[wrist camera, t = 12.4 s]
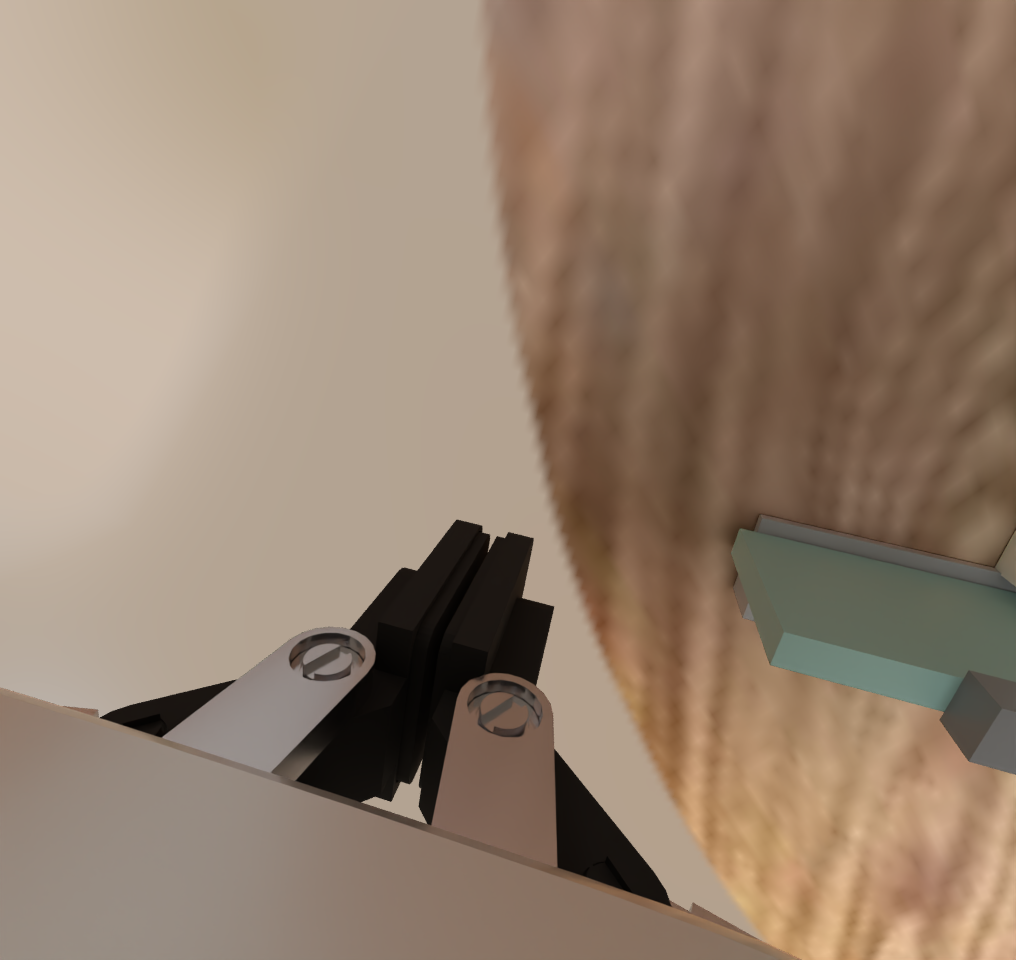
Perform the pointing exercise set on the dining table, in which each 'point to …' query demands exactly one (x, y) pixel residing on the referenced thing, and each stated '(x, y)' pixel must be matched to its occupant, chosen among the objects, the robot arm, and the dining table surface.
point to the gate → (890, 635)
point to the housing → (887, 556)
